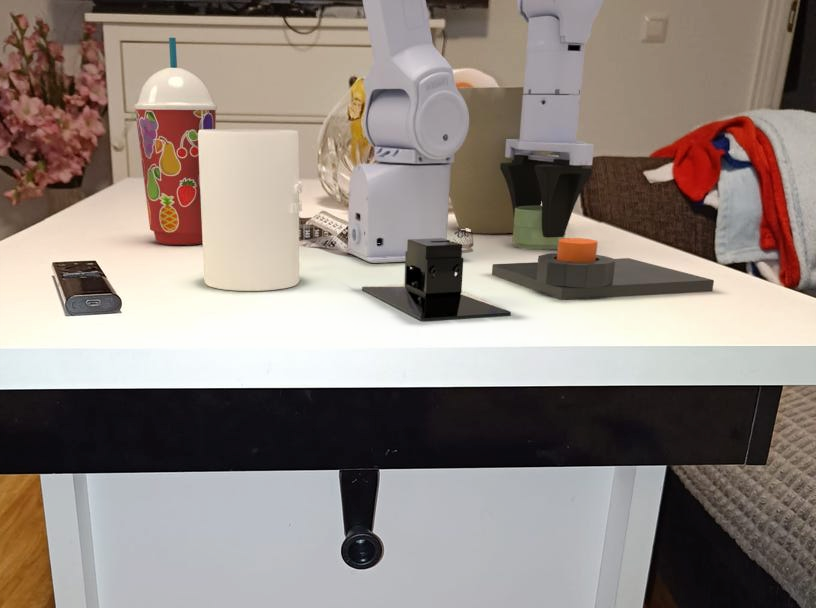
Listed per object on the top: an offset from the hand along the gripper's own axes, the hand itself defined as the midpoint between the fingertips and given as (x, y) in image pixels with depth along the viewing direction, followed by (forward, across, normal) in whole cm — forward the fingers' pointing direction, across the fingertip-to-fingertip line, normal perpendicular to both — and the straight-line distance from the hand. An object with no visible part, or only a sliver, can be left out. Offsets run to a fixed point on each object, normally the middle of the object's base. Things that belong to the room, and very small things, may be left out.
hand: (539, 233), depth 99 cm
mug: (+2, -11, +34) cm, 36 cm away
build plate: (+2, -25, +23) cm, 34 cm away
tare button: (-1, -24, +11) cm, 27 cm away
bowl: (+1, 0, 0) cm, 1 cm away
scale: (+1, -21, +6) cm, 22 cm away
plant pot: (+2, +14, -1) cm, 14 cm away
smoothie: (+2, +13, +36) cm, 38 cm away
